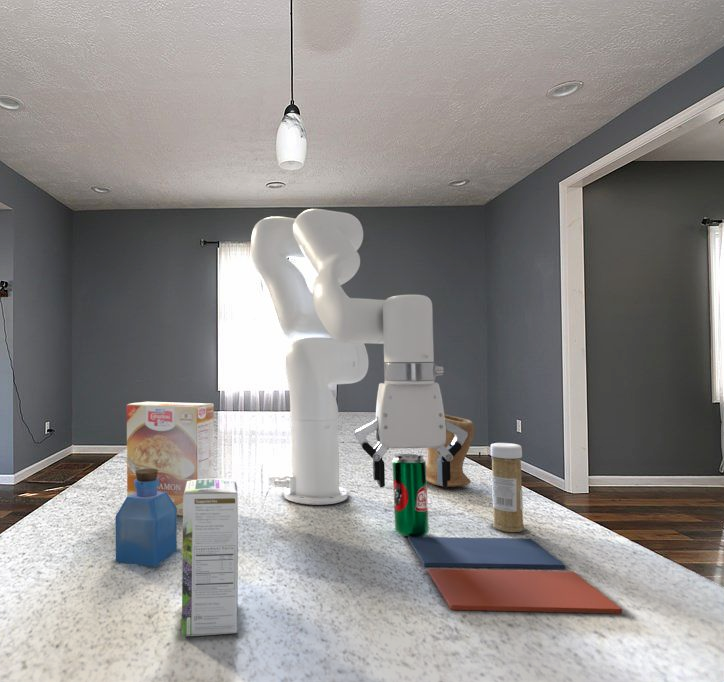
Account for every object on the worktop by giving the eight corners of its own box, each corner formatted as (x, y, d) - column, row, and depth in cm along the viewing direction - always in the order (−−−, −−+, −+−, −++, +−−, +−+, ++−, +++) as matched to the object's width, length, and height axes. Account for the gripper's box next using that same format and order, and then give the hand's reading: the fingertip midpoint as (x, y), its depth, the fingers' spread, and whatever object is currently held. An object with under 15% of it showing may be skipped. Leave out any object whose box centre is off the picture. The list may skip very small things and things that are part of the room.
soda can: (424, 539, 78) (420, 456, 80) (390, 535, 81) (387, 455, 83) (432, 532, 83) (428, 454, 84) (400, 529, 85) (397, 453, 87)
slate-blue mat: (424, 566, 70) (424, 562, 70) (408, 540, 80) (408, 536, 80) (565, 568, 69) (565, 564, 69) (531, 541, 79) (530, 538, 79)
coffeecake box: (125, 510, 97) (125, 404, 98) (147, 500, 104) (146, 400, 104) (197, 518, 92) (196, 406, 92) (215, 507, 98) (214, 402, 99)
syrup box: (184, 610, 59) (183, 479, 59) (237, 607, 59) (236, 477, 59) (181, 638, 53) (180, 492, 53) (240, 634, 53) (238, 490, 54)
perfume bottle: (176, 550, 77) (176, 467, 77) (155, 567, 71) (154, 477, 71) (139, 546, 79) (139, 465, 79) (115, 561, 73) (115, 474, 73)
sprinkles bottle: (529, 529, 84) (527, 444, 84) (513, 535, 82) (511, 447, 82) (502, 522, 88) (500, 441, 88) (486, 527, 85) (484, 443, 86)
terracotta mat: (451, 609, 58) (451, 605, 58) (428, 572, 68) (428, 568, 68) (622, 613, 57) (622, 609, 57) (573, 575, 67) (573, 571, 67)
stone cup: (486, 489, 109) (485, 416, 110) (433, 492, 107) (432, 418, 108) (448, 473, 124) (447, 409, 125) (400, 475, 122) (399, 410, 123)
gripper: (458, 373, 86) (461, 480, 85) (350, 374, 87) (352, 479, 86) (474, 374, 78) (477, 491, 78) (355, 375, 79) (358, 491, 79)
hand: (411, 485), depth 82 cm, fingers open, 9 cm apart
